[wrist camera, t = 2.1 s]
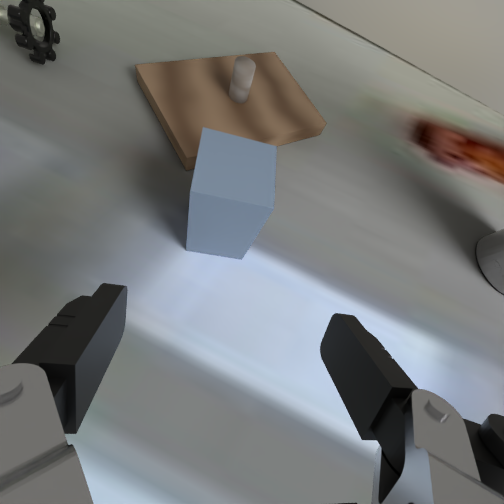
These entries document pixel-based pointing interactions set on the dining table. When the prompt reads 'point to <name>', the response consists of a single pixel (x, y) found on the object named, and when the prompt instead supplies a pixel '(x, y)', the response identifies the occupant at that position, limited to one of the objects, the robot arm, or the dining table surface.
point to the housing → (230, 193)
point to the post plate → (228, 101)
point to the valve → (32, 28)
